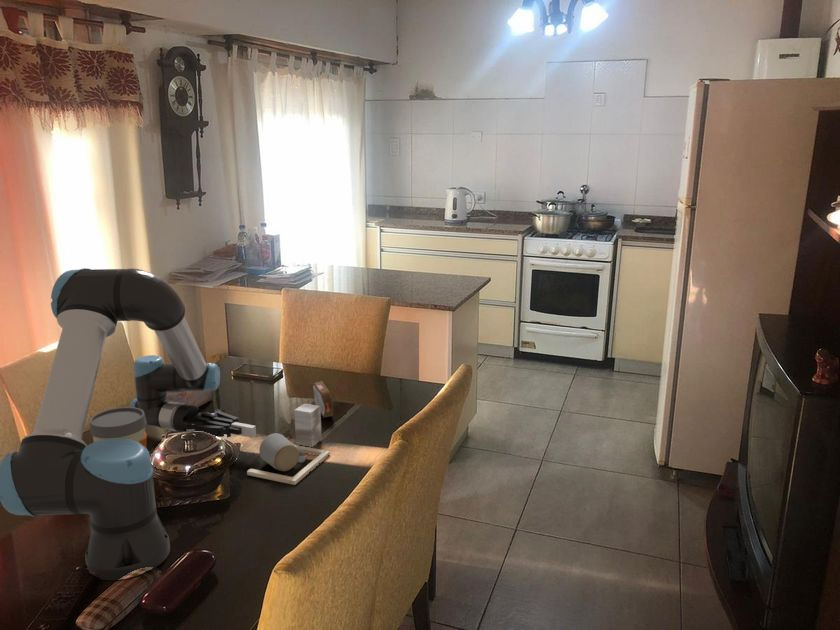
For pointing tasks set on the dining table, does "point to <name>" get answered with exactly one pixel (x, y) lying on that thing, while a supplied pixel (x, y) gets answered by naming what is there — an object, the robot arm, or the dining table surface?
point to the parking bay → (299, 475)
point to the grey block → (307, 425)
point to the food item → (190, 397)
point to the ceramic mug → (280, 452)
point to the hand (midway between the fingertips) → (254, 431)
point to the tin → (323, 399)
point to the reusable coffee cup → (119, 425)
